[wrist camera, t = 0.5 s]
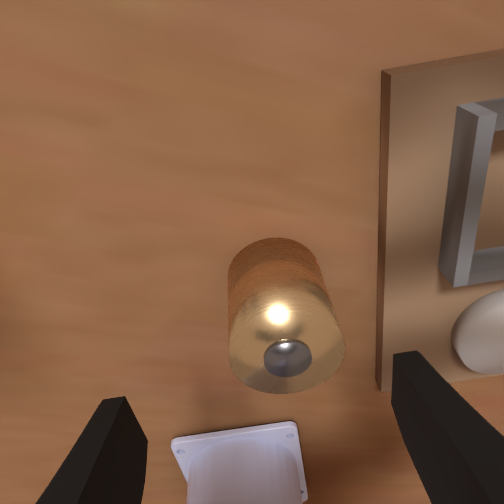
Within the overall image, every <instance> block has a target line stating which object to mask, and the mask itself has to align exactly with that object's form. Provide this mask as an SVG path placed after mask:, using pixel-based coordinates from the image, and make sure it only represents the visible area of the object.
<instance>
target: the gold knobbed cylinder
mask: <svg viewBox="0 0 504 504" xmlns="http://www.w3.org/2000/svg"><path fill="white" fill-rule="evenodd" d="M228 327H229V362H230V366H231V369H232V371H233V373H234V374H235V376H236V377H237V378H238V379H239V380H240V381H241V382H242V383H244V384H245V385H247V386H249V387H251V388H253V389H256V390H258V391H262V392H266V393H273V394H288V393H296V392H300V391H304V390H307V389H310V388H313V387H315V386H317V385H319V384H321V383H322V382H324V381H325V380H327V379H328V378H329V377H331V376H332V375H333V374H334V373H335V372H336V370H337V369H338V368H339V366H340V365H341V363H342V361H343V358H344V354H345V342H344V339H343V336H342V333H341V330H340V327H339V324H338V321H337V318H336V315H335V312H334V310H333V307H332V304H331V301H330V298H329V295H328V292H327V289H326V286H325V283H324V280H323V277H322V274H321V271H320V268H319V265H318V263H317V260H316V258H315V256H314V255H313V253H312V252H311V251H310V250H309V249H308V248H307V247H305V246H304V245H302V244H300V243H298V242H296V241H293V240H290V239H285V238H268V239H263V240H260V241H257V242H254V243H252V244H250V245H248V246H247V247H245V248H244V249H243V250H241V251H240V252H239V253H238V254H237V255H236V257H235V258H234V259H233V261H232V263H231V265H230V267H229V271H228Z"/></svg>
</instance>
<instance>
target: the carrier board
mask: <svg viewBox="0 0 504 504" xmlns="http://www.w3.org/2000/svg"><path fill="white" fill-rule="evenodd" d="M415 350H417V351H418V352H420V353H421V354H422V355H423V356H424V358H425V359H426V360H427V361H428V362H429V363H430V364H431V365H432V366H433V367H434V368H435V370H436V371H437V372H438V373H439V374H440V375H441V376H442V377H443V378H444V379H445V380H446V381H447V382H448V383H451V382H458V381H464V380H471V379H478V378H485V377H491V376H498V375H504V49H501V50H495V51H490V52H484V53H478V54H472V55H467V56H461V57H455V58H450V59H444V60H438V61H432V62H427V63H421V64H415V65H409V66H404V67H398V68H392V69H387V70H382V81H381V132H380V183H379V234H378V285H377V336H376V381H377V383H378V386H379V389H380V391H381V393H383V392H390V391H392V369H393V354H396V353H402V352H409V351H415Z"/></svg>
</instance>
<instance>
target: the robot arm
mask: <svg viewBox="0 0 504 504" xmlns="http://www.w3.org/2000/svg"><path fill="white" fill-rule="evenodd" d="M391 404H392V407H393V410H394V413H395V416H396V419H397V423H398V426H399V429H400V431H401V434H402V437H403V440H404V443H405V445H406V447H407V450H408V452H409V454H410V456H411V459H412V461H413V463H414V465H415V468H416V470H417V472H418V474H419V476H420V479H421V481H422V483H423V485H424V487H425V490H426V492H427V494H428V496H429V498H430V501H431V503H432V504H504V436H503V435H502V434H500V433H499V432H498V431H497V430H496V429H495V428H494V427H493V426H492V425H491V424H490V423H488V422H487V421H486V420H485V419H484V418H483V417H482V416H481V415H480V414H479V413H478V412H477V411H476V410H475V409H474V408H473V407H472V406H471V405H470V404H469V403H468V402H467V401H466V400H465V399H464V398H462V397H461V396H460V395H459V394H458V392H457V391H456V390H455V389H454V388H453V387H452V386H451V385H450V384H449V383H448V382H447V381H446V380H445V379H444V378H443V377H442V376H441V375H440V374H439V373H438V372H437V371H436V370H435V368H434V367H433V366H432V365H431V364H430V363H429V362H428V361H427V360H426V359H425V358H424V356H423V355H422V354H421V353H420V352H418V351H417V350H415V351H409V352H402V353H396V354H393V369H392V397H391ZM147 445H148V440H147V438H146V436H145V434H144V432H143V430H142V428H141V426H140V424H139V423H138V421H137V419H136V417H135V415H134V413H133V411H132V409H131V407H130V405H129V403H128V401H127V399H126V397H125V396H123V397H116V398H110V399H104V400H102V402H101V403H100V404H99V406H98V408H97V409H96V411H95V412H94V414H93V416H92V417H91V419H90V421H89V422H88V424H87V425H86V427H85V429H84V430H83V432H82V434H81V435H80V437H79V438H78V440H77V442H76V443H75V445H74V446H73V448H72V449H71V451H70V453H69V454H68V456H67V457H66V459H65V460H64V462H63V463H62V465H61V467H60V468H59V470H58V471H57V473H56V474H55V476H54V477H53V479H52V480H51V482H50V483H49V485H48V486H47V488H46V489H45V491H44V492H43V494H42V495H41V497H40V498H39V499H38V501H37V502H36V504H141V501H142V495H143V490H144V484H145V475H146V462H147ZM171 449H172V451H173V453H174V455H175V457H176V460H177V462H178V464H179V466H180V468H181V470H182V473H183V475H184V477H185V479H186V481H187V483H188V489H187V503H186V504H303V502H304V501H306V500H307V499H308V494H307V488H306V481H305V475H304V469H303V462H302V456H301V449H300V443H299V436H298V430H297V425H296V423H295V422H292V421H286V422H279V423H272V424H265V425H259V426H252V427H245V428H238V429H231V430H224V431H218V432H211V433H204V434H197V435H190V436H183V437H177V438H174V439H173V440H172V441H171Z"/></svg>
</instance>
